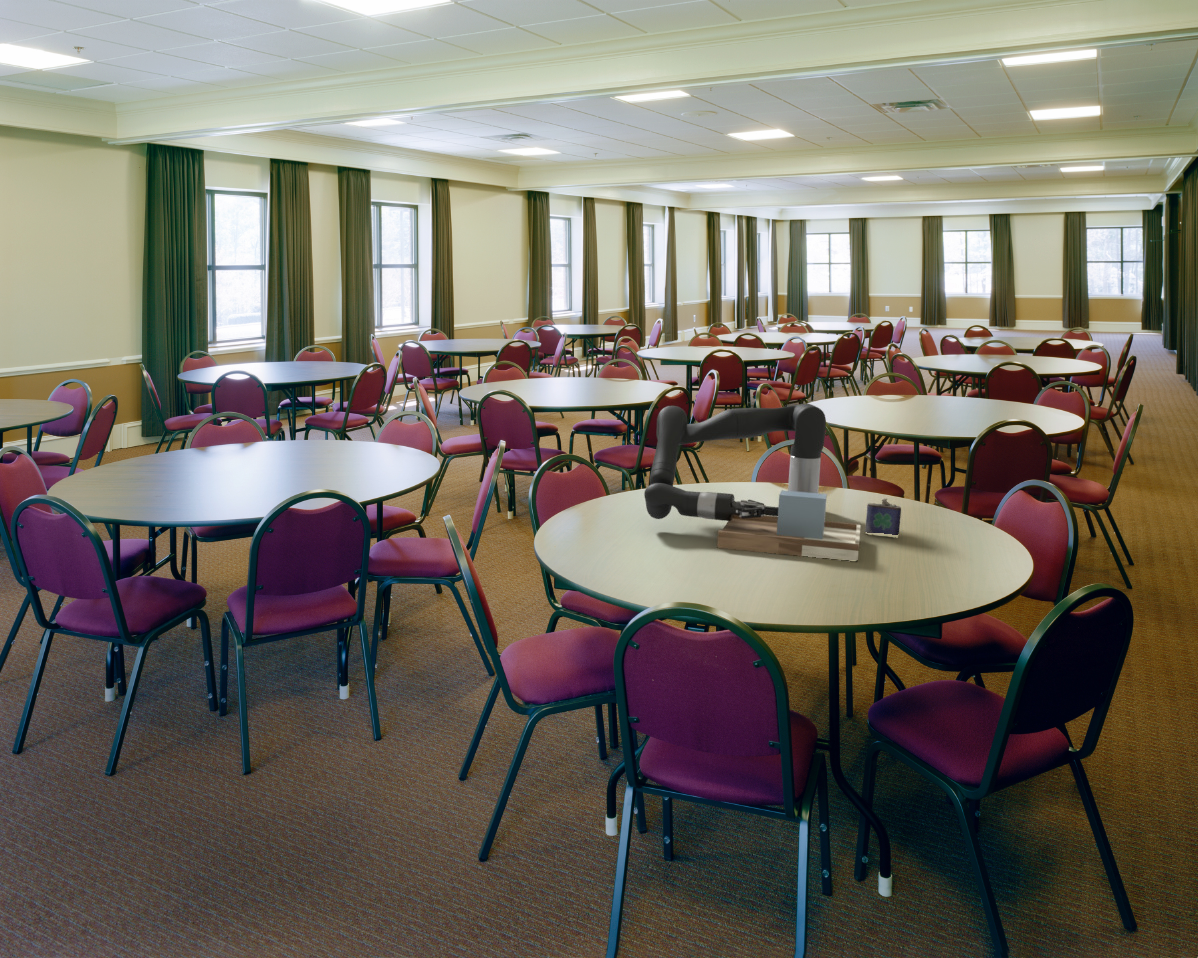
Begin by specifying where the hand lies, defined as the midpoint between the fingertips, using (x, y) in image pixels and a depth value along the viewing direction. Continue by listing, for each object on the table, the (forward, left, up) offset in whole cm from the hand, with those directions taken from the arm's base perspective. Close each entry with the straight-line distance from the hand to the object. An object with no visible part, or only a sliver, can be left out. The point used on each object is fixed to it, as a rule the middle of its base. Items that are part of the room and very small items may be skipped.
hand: (779, 511), depth 241 cm
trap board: (0, +3, -9) cm, 9 cm away
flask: (-18, +27, -9) cm, 34 cm away
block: (0, +6, -6) cm, 8 cm away
